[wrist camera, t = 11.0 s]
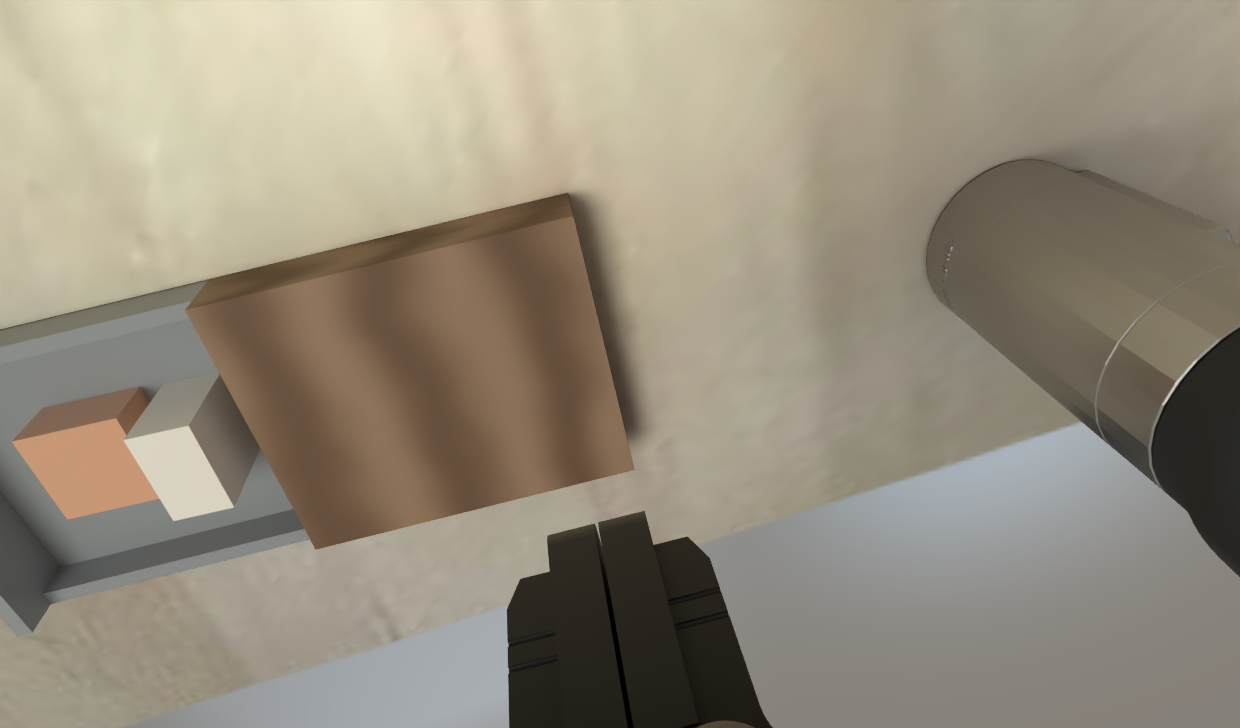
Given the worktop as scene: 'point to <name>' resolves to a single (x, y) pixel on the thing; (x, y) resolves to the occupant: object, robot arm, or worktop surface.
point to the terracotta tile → (87, 453)
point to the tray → (128, 536)
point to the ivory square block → (194, 446)
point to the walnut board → (421, 370)
